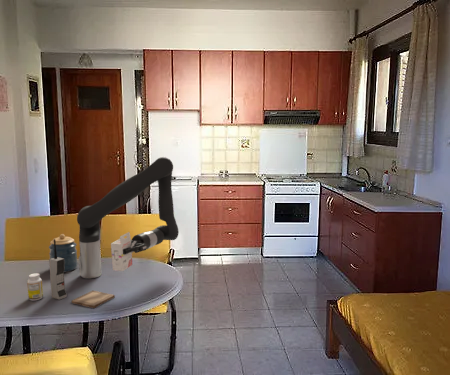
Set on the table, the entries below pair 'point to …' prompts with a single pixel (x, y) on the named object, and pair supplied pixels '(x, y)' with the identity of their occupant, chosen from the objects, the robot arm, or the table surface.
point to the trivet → (93, 299)
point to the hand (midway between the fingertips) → (117, 250)
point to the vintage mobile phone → (57, 276)
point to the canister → (65, 251)
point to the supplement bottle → (35, 287)
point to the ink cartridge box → (121, 253)
